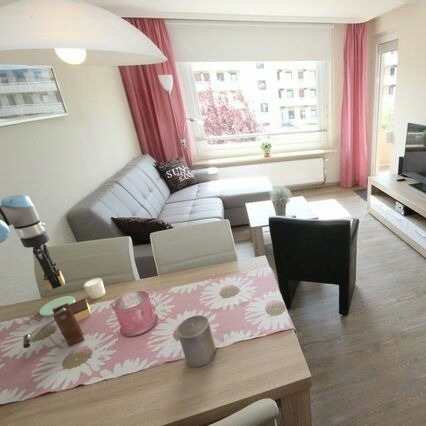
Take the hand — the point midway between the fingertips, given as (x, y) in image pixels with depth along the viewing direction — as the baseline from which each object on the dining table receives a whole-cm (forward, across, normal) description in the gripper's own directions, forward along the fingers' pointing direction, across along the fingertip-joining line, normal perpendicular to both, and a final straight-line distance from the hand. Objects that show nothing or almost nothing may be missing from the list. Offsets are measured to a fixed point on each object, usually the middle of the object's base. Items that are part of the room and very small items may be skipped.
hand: (57, 283), depth 121 cm
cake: (+13, -11, -3) cm, 17 cm away
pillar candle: (+13, -66, -33) cm, 74 cm away
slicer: (+2, -27, +4) cm, 27 cm away
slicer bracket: (+13, -27, -1) cm, 30 cm away
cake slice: (0, 0, 0) cm, 0 cm away
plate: (+13, +4, +3) cm, 14 cm away
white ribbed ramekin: (+13, +1, -11) cm, 17 cm away
